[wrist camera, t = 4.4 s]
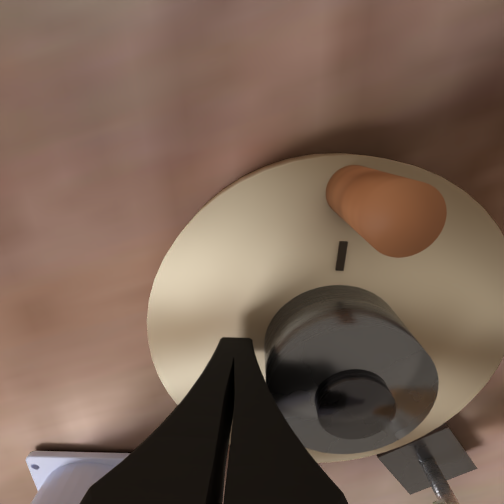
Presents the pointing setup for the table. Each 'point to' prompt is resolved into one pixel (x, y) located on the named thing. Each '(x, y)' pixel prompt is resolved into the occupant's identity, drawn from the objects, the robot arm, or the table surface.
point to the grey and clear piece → (429, 463)
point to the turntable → (336, 269)
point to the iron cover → (347, 370)
